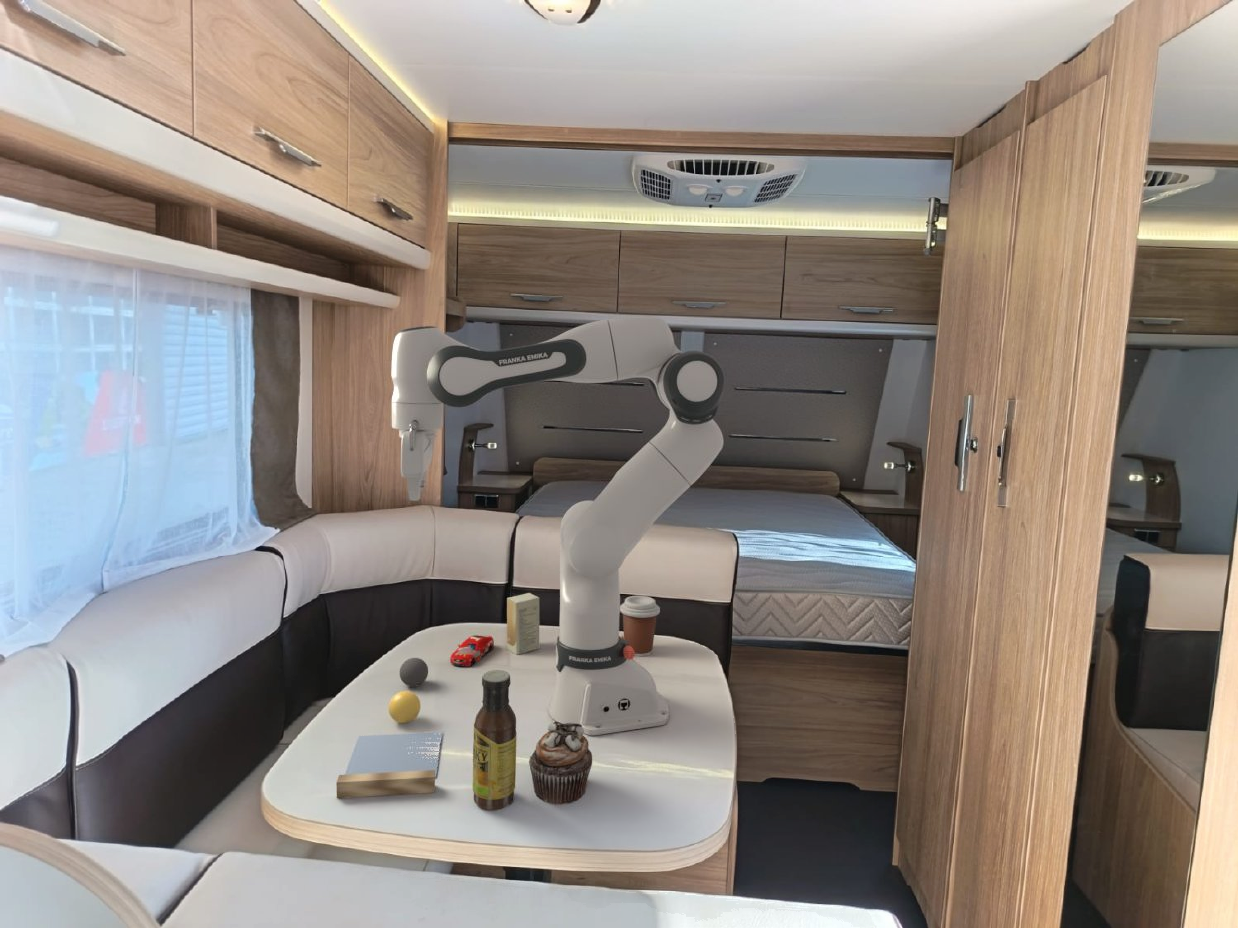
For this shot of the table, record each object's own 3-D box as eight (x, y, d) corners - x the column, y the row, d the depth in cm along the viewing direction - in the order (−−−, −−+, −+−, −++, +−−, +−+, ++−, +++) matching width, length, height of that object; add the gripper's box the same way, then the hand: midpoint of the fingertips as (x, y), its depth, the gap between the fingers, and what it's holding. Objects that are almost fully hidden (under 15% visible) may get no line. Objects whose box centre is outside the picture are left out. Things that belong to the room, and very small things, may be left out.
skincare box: (529, 643, 173) (530, 591, 171) (540, 649, 170) (541, 596, 168) (505, 649, 169) (506, 596, 167) (515, 655, 166) (516, 602, 164)
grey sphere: (429, 678, 152) (429, 652, 152) (426, 690, 147) (426, 663, 146) (401, 679, 151) (401, 653, 151) (397, 691, 146) (397, 664, 145)
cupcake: (529, 772, 120) (531, 713, 118) (590, 772, 120) (592, 713, 119) (526, 808, 110) (527, 744, 109) (592, 807, 111) (594, 744, 109)
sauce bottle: (468, 793, 113) (469, 668, 110) (508, 785, 116) (510, 662, 113) (478, 817, 108) (479, 685, 105) (520, 808, 110) (522, 679, 107)
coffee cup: (615, 644, 174) (616, 594, 172) (653, 642, 176) (655, 593, 174) (622, 659, 165) (624, 607, 164) (662, 658, 167) (664, 606, 165)
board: (442, 733, 131) (442, 732, 131) (435, 777, 117) (435, 776, 117) (359, 737, 128) (358, 735, 128) (342, 782, 115) (342, 781, 115)
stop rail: (434, 784, 115) (434, 769, 115) (433, 792, 113) (433, 777, 113) (339, 790, 113) (339, 774, 113) (336, 797, 111) (336, 782, 111)
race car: (468, 671, 158) (468, 653, 157) (445, 666, 159) (445, 649, 159) (498, 648, 170) (498, 631, 169) (477, 644, 172) (477, 628, 171)
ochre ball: (422, 713, 138) (421, 685, 137) (418, 728, 132) (418, 698, 131) (391, 714, 137) (390, 686, 136) (386, 729, 131) (386, 699, 131)
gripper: (431, 424, 124) (430, 506, 126) (439, 414, 144) (439, 485, 146) (391, 423, 123) (391, 506, 125) (405, 413, 143) (405, 485, 145)
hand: (417, 494), depth 135 cm, fingers open, 8 cm apart
